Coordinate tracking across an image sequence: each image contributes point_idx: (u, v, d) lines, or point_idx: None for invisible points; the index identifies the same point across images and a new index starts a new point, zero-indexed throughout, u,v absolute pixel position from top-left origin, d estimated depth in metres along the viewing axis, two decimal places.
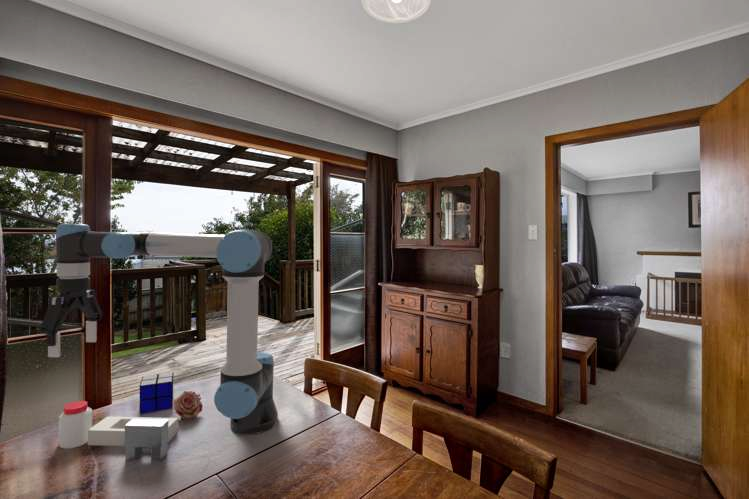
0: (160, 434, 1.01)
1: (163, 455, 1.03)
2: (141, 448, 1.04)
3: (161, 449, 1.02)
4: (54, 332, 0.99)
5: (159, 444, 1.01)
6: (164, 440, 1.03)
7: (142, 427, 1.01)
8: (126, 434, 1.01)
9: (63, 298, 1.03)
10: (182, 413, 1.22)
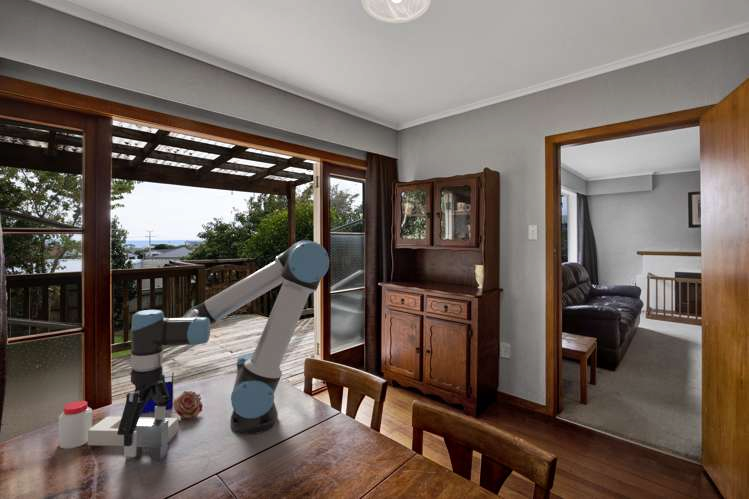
0: (160, 434, 1.01)
1: (163, 455, 1.03)
2: (141, 448, 1.04)
3: (161, 449, 1.02)
4: (132, 431, 0.94)
5: (159, 444, 1.01)
6: (164, 440, 1.03)
7: (142, 427, 1.01)
8: None
9: (139, 392, 0.98)
10: (182, 413, 1.22)
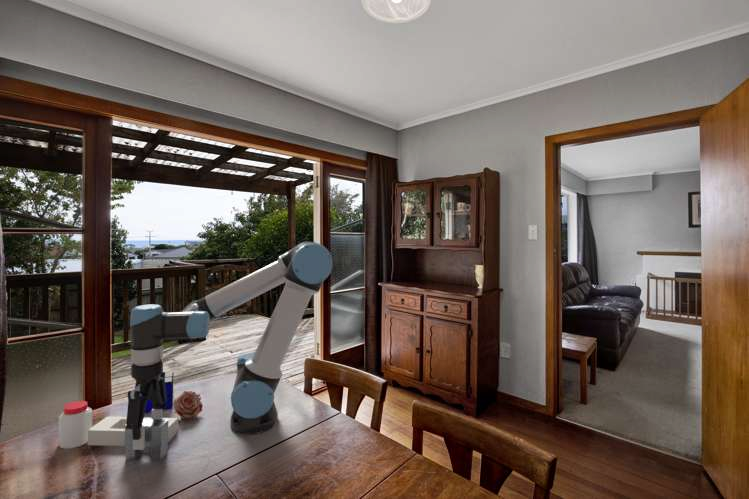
0: (160, 434, 1.01)
1: (163, 455, 1.03)
2: None
3: (161, 449, 1.02)
4: (140, 426, 0.97)
5: (159, 444, 1.01)
6: (164, 440, 1.03)
7: None
8: (126, 434, 1.01)
9: (140, 388, 0.98)
10: (182, 413, 1.22)
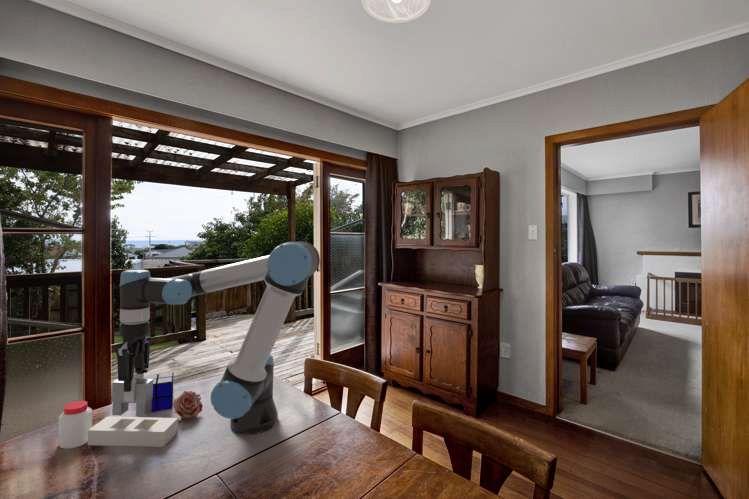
0: (144, 391, 1.09)
1: (147, 411, 1.11)
2: (127, 405, 1.13)
3: (145, 405, 1.10)
4: (131, 379, 1.08)
5: (144, 401, 1.10)
6: (148, 397, 1.11)
7: None
8: (113, 390, 1.09)
9: (127, 346, 1.06)
10: (182, 413, 1.22)
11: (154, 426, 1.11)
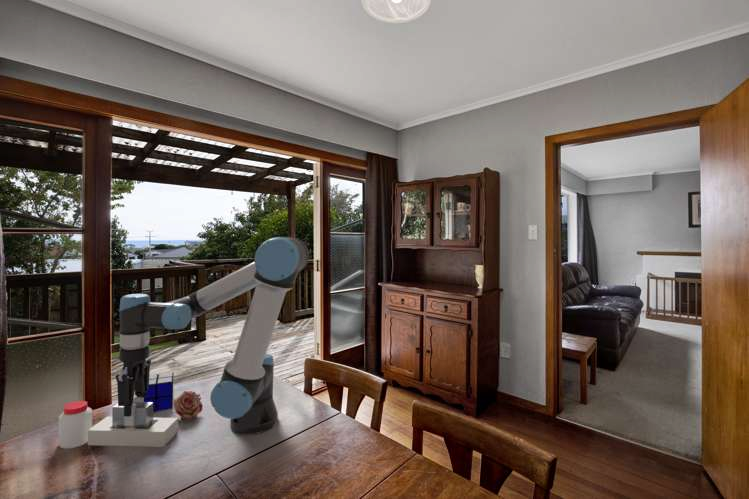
0: (144, 415, 1.10)
1: None
2: None
3: None
4: (131, 404, 1.08)
5: (144, 424, 1.10)
6: (149, 421, 1.11)
7: None
8: (114, 415, 1.10)
9: (127, 371, 1.06)
10: (182, 413, 1.22)
11: (154, 426, 1.11)
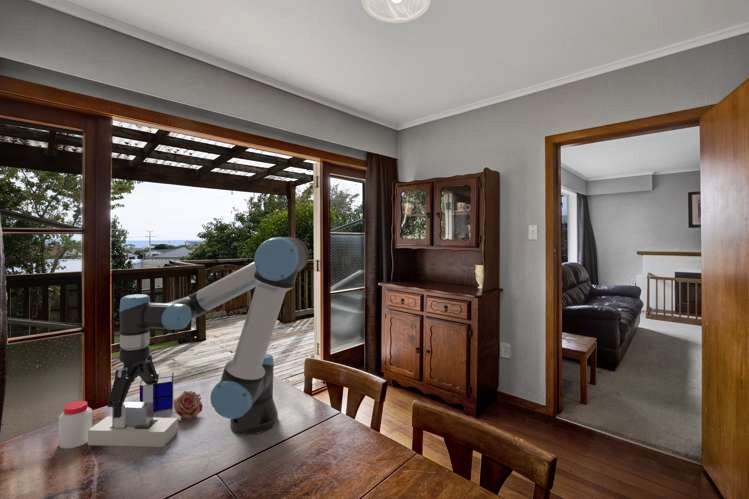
0: (144, 415, 1.10)
1: None
2: None
3: None
4: (120, 404, 1.03)
5: (144, 424, 1.10)
6: (149, 421, 1.11)
7: (128, 408, 1.10)
8: None
9: (127, 369, 1.06)
10: (182, 413, 1.22)
11: (154, 426, 1.11)
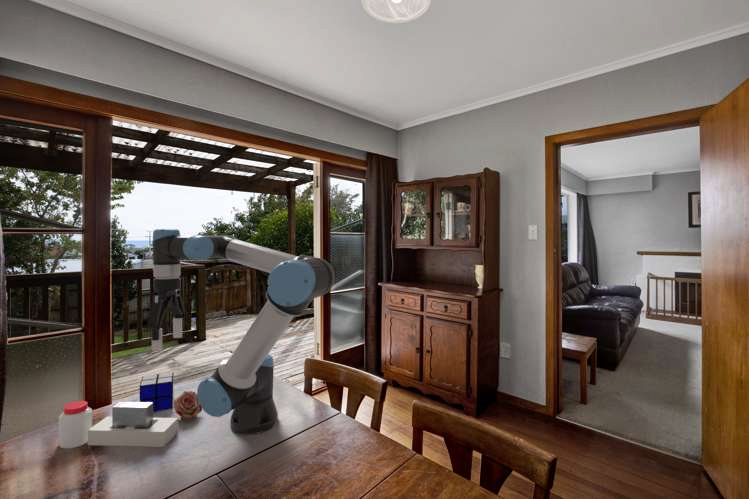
0: (144, 415, 1.10)
1: None
2: None
3: None
4: (158, 327, 1.09)
5: (144, 424, 1.10)
6: (149, 421, 1.11)
7: (128, 408, 1.10)
8: (114, 415, 1.10)
9: (162, 296, 1.13)
10: (182, 413, 1.22)
11: (154, 426, 1.11)
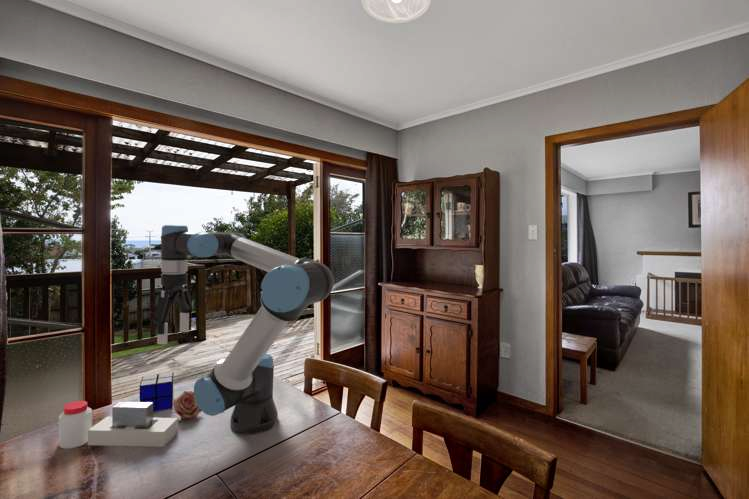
0: (144, 415, 1.10)
1: None
2: None
3: None
4: (164, 322, 1.11)
5: (144, 424, 1.10)
6: (149, 421, 1.11)
7: (128, 408, 1.10)
8: (114, 415, 1.10)
9: (169, 291, 1.14)
10: (182, 413, 1.22)
11: (154, 426, 1.11)
